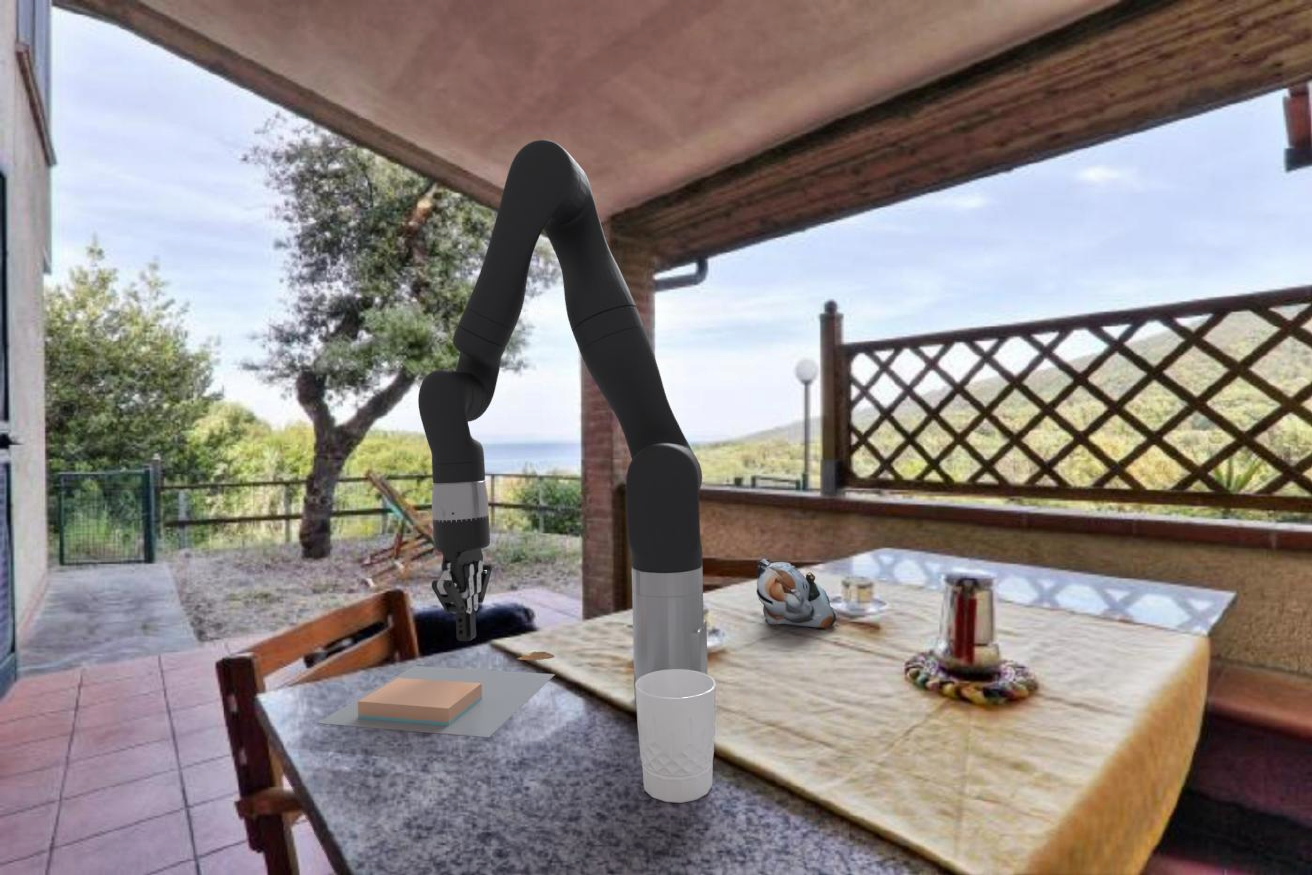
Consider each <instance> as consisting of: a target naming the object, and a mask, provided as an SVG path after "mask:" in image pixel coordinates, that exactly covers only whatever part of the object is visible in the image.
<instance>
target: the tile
mask: <svg viewBox="0 0 1312 875" xmlns="http://www.w3.org/2000/svg"><path fill="white" fill-rule="evenodd" d="M480 700H482V683H468V682H453V681H438V680H423V679H408V678H397V679H395V680H393V681H392V682H390V683H388V684H387V685H385V686H383V687H382V688H380V689H378V690H376V691H375V692H373V693H371V694H370V695H368V696H366V697H365V698H363V699H361V700H359V701H358V718H362V719H374V720H386V721H398V722H410V723H422V724H434V725H446V726H449V725H450V724H452V723H453V722H454V721H455V720H457V719H458V718H459V717H460V716H462V715H463V714H464V713H465V712H467V711H468V710H469V709H470V708H472V707H473V706H474V705H475V704H477V703H478V702H479V701H480Z"/></svg>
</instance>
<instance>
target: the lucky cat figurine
mask: <svg viewBox="0 0 1312 875" xmlns="http://www.w3.org/2000/svg"><path fill="white" fill-rule="evenodd" d="M756 563H757V568H756V575H757V581H756V595H757V596H758V597H757V598H758V600H759V601H760V602H761V604H762V605H763V607H762V609H763V610H762V612H763V616H764V617H765V619H766V621H767V624H769V625H771V626H773V625H791V626H792V625H793V626H800V627H802V626H803V627H810V628H817V629H823V630H827V629H829V628H830V627H832V626H833V625H834V623H836V622H838V621H839V619H840V616H839V615H838V614H837V611H836V609H835V608H834V607H831V601H830V598H829V595H828V594H827V592H826V591H825V589H824V588H823V587H822V586H820V585H819V584H818V583H816V582H815V580H816V576H815V574H813V572H811V571H809V572H807V573H806V574H805V576H804V574H803V573H802V572H801V571H800V570H799V569H798V568H796V566H795V565H792V564H791V563H789V562H785V561H781V562H780V561H778V562H771V561H770V559H768V558H763V559H761V560H756Z"/></svg>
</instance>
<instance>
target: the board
mask: <svg viewBox="0 0 1312 875" xmlns="http://www.w3.org/2000/svg"><path fill="white" fill-rule="evenodd" d="M555 675H556V674H555V673H538V672H526V671H525V672H522V671H507V670H506V671H503V670H489V669H472V668H471V669H470V668H459V667H458V668H455V667H440V666H438V667H437V666H422V665H421V666H420V665H419V666H418V665H414V666H412V667H410V668H408V669H406V670H405V671H403V672H401V673H400V674H398V675H395V677H393V678H391V679H390V680H388V681H386V682H384V683H383V684H381V685H379V686H378V687H376V688H375V689H372V690H370V691H369V692H367V693H366V694H363V696H360V697H359V698H357V699H356V700H354V701H352V702H350V703H348V704H346V705H345V706H343V707H342V708H340V709H338V710H336V711H334V712H333V713H331V714H329V715H328V716H327V717H325V718H323V719H321V720H320V721H318V722H317V724H319V725H320V724H322V725H333V726H334V725H335V726H343V727H344V726H346V727H356V728H357V727H358V728H366V729H367V728H370V729H380V730H392V731H393V730H394V731H405V732H416V733H417V732H419V733H428V734H429V733H430V734H441V735H453V736H454V735H455V736H465V737H477V738H490V737H491V736H492V735H493V734H494V733H496V732H497V730H498V729H500V728H501V726H503V725H504V724H505V723H506V722H507V721H508V720H509V719H510V718H512V716H513V715H514V714H515V713H516V712H518V711H519V710H520V709H521V707H523V706H524V705H525V704H526V703H527V702H528V701H529V700H530V699H531V698H532V697H533V696H534V695H535V694H536V693H538V691H539V690H541V689H542V688H543V687H544V686H545V685H546V684H547V683H548V682H549V681H550V680H551V679H552V678H553V677H554V676H555ZM397 678H408V679H423V680H438V681H453V682H468V683H482V700H480V701H479V702H478V703H477V704H475V705H474V706H473V707H472V708H470V709H469V710H468V711H467V712H465V713H464V714H463V715H462V716H460V717H459V718H458V719H457V720H455V721H454V722H453V723H452V724H450V725H449V726H446V725H434V724H422V723H410V722H398V721H386V720H374V719H362V718H358V701H359V700H361V699H363V698H365V697H366V696H368V695H370V694H371V693H373V692H375V691H376V690H378V689H380V688H382V687H383V686H385V685H387V684H388V683H390V682H392V681H393V680H395V679H397Z"/></svg>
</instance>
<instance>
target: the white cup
mask: <svg viewBox="0 0 1312 875" xmlns="http://www.w3.org/2000/svg"><path fill="white" fill-rule="evenodd" d="M716 690H717V683H716V680H715V679H714V678H713V677H712V676H710V675H709V674H708V675H707V674H705V673H702V672H698V671H693V670H685V669H668V670H660V671H655V672H651V673H648V674H645V675H643V676H641V677H640V678H639V679H638V680H637V681H636V683H635V691H636V701H635V705H636V721H637V722H636V723H637V732H638V746H639V759H640V761H641V768H642V782H643V790H644V792H646V793H647V794H648V795H649V796H650V797H651V798H653V799H656V800H659V801H662V802H666V803H679V804H680V803H681V804H682V803H689V802H692V801H697V800H699V799H701V798H702V797H704V796H706V795H708V793H709V791H710V790H711V788H712V786H713V769H714V768H713V760H714V753H715V735H716V734H715V733H716V692H717V691H716Z"/></svg>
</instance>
